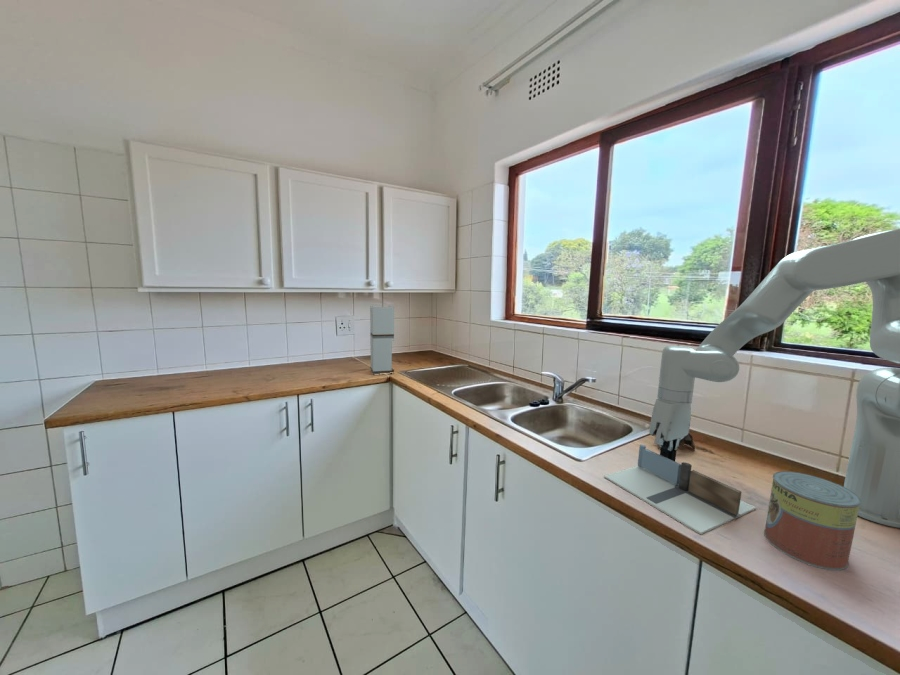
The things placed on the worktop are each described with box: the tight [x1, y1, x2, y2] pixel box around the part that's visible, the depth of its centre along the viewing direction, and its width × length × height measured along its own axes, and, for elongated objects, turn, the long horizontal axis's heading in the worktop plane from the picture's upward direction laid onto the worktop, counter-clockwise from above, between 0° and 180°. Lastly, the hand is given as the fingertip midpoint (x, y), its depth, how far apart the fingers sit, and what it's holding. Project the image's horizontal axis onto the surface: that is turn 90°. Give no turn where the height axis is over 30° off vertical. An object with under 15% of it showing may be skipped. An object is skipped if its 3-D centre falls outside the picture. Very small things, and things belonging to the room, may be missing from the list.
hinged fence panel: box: [637, 444, 681, 485], centre depth 90 cm, size 10×1×6 cm, turn 26°
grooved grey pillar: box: [369, 305, 395, 375], centre depth 190 cm, size 11×11×35 cm
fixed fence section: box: [679, 461, 743, 515], centre depth 80 cm, size 12×2×7 cm, turn 26°
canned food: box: [763, 470, 861, 571], centre depth 66 cm, size 11×11×12 cm
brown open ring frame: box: [679, 431, 696, 452], centre depth 109 cm, size 12×10×8 cm
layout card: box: [603, 465, 757, 535], centre depth 84 cm, size 23×20×1 cm
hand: (666, 462), depth 94 cm, fingers closed
